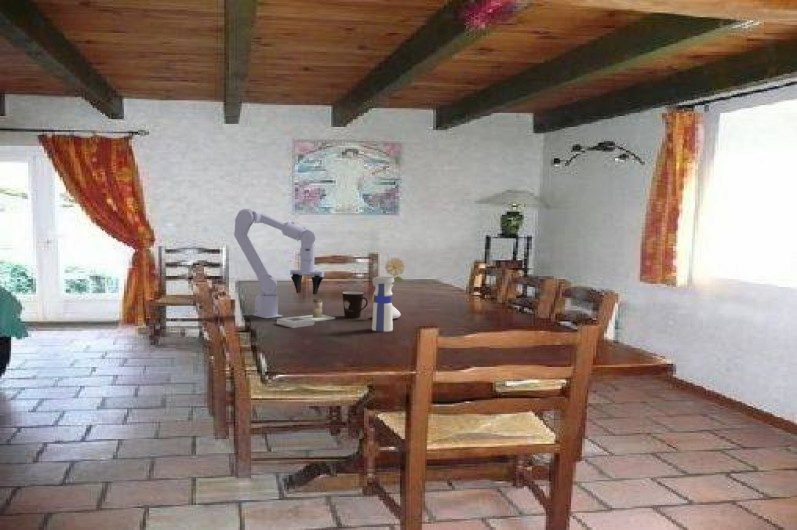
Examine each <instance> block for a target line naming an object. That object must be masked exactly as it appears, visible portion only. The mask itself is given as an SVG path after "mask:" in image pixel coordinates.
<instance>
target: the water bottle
mask: <svg viewBox="0 0 797 530" xmlns="http://www.w3.org/2000/svg"><path fill="white" fill-rule="evenodd" d="M372 265H373V270H378V266H379V263H377V261H375V262H374V263H373V264H372ZM393 277H394V276H383V275H380V276H376V277H372V285H373V287H375V290H374V292H373V294H372V300H371V301H372V303H373V306H372V320H371V321H372V322H371V323H372V325H371V330H372V331H374V332H392V331H393V329H394V327H393V320H394V319H392V314H393V307H392V305H393V303H392V295H394V293H393V292H392V291H393V290H392V289H391V285H393V283H394V282H395V280H394V278H395V277H394V278H393Z"/></svg>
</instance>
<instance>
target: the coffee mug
mask: <svg viewBox="0 0 797 530" xmlns="http://www.w3.org/2000/svg"><path fill="white" fill-rule="evenodd" d="M363 300H365V305H364V306H363V302H364V301H363ZM342 302H343V303H342V304H343V314H344V318H345V319H361V315H362V311H363V310H364V309H365V308H366V307H367V306H368V303H369V302H368V299H367V298H366V297H364V292H362V291H343V292H342Z"/></svg>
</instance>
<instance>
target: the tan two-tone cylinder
mask: <svg viewBox="0 0 797 530" xmlns="http://www.w3.org/2000/svg"><path fill="white" fill-rule="evenodd" d="M312 315H313V317H314V318H321V317H322V315H323V299H321V298H314V299H313V300H312Z"/></svg>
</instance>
